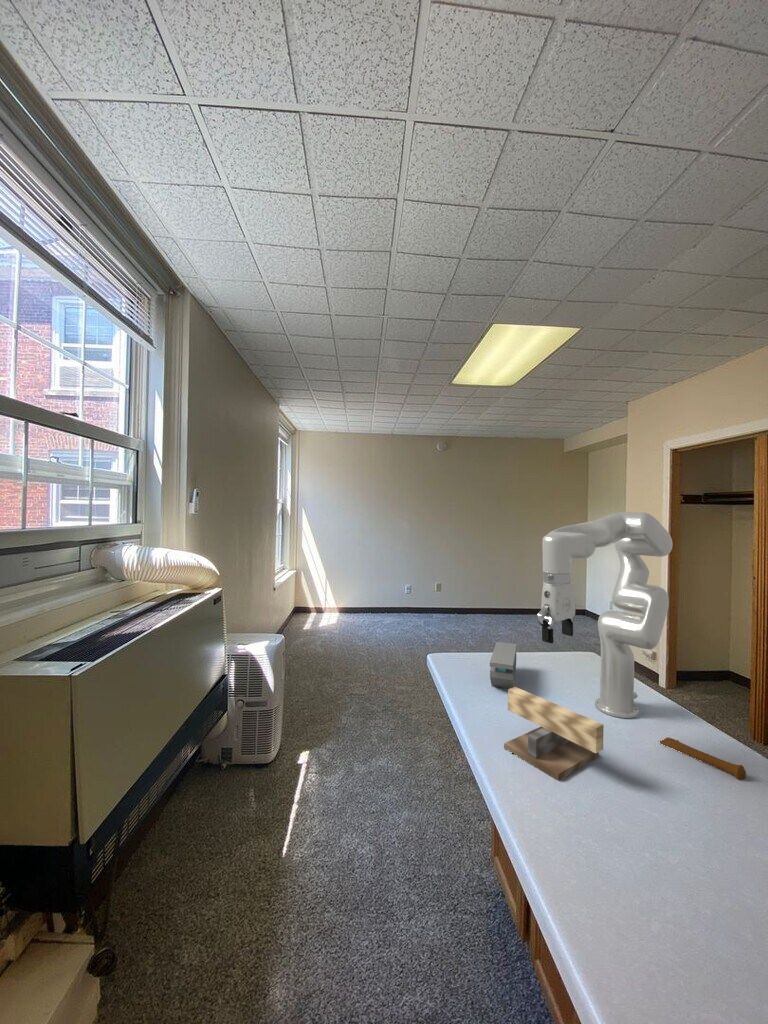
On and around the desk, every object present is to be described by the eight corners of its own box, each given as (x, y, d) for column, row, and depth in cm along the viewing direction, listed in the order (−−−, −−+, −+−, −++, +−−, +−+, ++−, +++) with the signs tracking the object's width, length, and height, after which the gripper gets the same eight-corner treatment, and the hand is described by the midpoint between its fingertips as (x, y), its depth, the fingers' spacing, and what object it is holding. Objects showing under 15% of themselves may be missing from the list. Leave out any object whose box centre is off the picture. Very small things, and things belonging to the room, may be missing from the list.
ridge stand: (544, 729, 123) (545, 707, 123) (598, 756, 110) (599, 731, 110) (504, 748, 113) (504, 724, 113) (558, 780, 100) (558, 753, 100)
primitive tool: (656, 743, 117) (656, 731, 117) (667, 739, 120) (668, 726, 120) (740, 784, 100) (740, 769, 100) (751, 777, 103) (751, 763, 103)
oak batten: (603, 749, 102) (603, 724, 102) (596, 753, 100) (596, 728, 100) (514, 707, 123) (515, 686, 123) (507, 710, 122) (508, 689, 122)
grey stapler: (496, 668, 171) (496, 641, 171) (516, 671, 169) (516, 644, 169) (489, 693, 148) (489, 662, 148) (512, 696, 145) (513, 665, 145)
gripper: (551, 584, 111) (551, 648, 112) (586, 576, 121) (587, 635, 122) (526, 580, 117) (527, 641, 118) (562, 573, 127) (562, 629, 128)
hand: (557, 638), depth 120 cm, fingers open, 9 cm apart
